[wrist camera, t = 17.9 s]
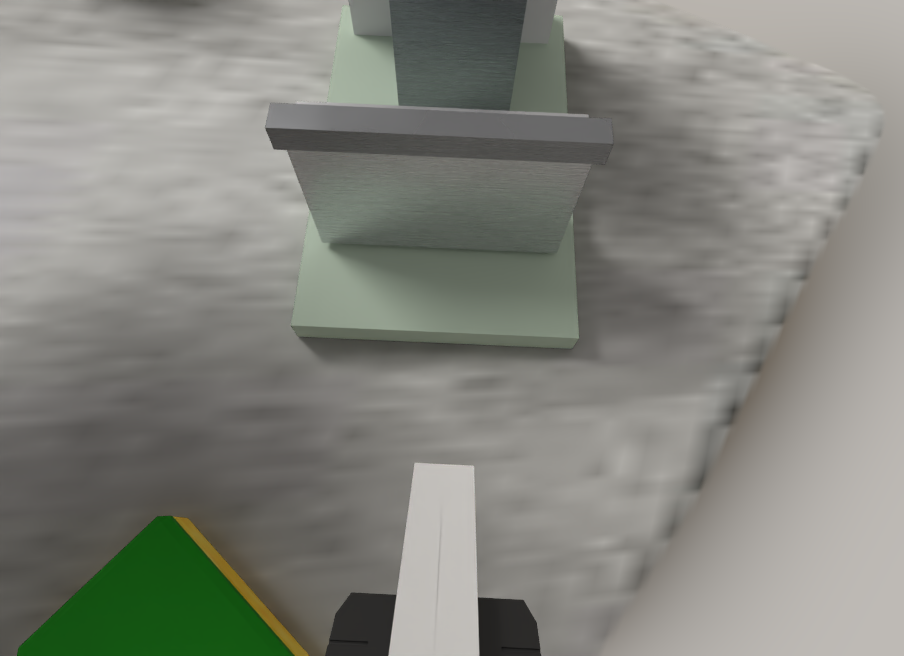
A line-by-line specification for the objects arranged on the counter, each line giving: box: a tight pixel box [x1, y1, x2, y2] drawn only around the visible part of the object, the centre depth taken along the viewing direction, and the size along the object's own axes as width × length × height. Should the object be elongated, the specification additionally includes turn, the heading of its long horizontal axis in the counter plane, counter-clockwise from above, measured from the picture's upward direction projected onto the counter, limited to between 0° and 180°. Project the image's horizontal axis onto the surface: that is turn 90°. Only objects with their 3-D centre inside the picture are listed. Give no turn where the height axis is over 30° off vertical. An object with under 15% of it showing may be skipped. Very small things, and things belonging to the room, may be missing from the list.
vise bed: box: [291, 0, 579, 349], centre depth 27 cm, size 14×22×11 cm, turn 178°
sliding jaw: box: [265, 101, 614, 253], centre depth 25 cm, size 13×2×8 cm, turn 88°
